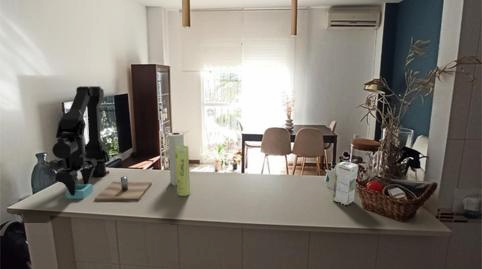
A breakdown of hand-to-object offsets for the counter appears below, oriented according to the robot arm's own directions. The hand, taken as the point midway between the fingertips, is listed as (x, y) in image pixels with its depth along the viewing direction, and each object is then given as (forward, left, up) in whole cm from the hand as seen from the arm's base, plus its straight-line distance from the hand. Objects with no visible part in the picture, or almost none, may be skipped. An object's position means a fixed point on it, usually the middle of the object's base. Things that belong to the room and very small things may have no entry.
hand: (79, 190), depth 112 cm
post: (-3, +16, -1) cm, 16 cm away
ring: (0, 0, -2) cm, 2 cm away
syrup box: (+4, +99, -2) cm, 99 cm away
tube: (-2, +39, -2) cm, 39 cm away
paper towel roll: (-13, +34, -2) cm, 36 cm away
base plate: (-3, +16, -2) cm, 16 cm away
